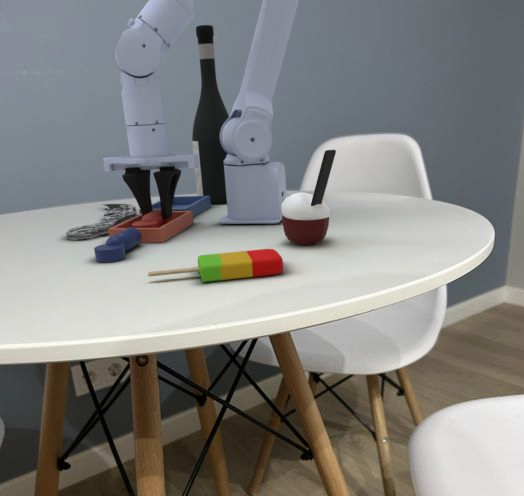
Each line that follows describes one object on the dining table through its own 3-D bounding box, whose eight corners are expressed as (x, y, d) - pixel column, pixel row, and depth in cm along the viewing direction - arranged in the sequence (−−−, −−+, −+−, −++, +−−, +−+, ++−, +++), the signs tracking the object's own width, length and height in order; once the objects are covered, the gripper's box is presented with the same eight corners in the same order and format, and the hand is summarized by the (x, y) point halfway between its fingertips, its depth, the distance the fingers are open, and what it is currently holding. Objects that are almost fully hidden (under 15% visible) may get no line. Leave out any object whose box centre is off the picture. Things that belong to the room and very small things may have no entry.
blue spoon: (125, 243, 83) (122, 225, 82) (149, 243, 82) (147, 225, 81) (90, 262, 74) (87, 242, 73) (117, 262, 73) (114, 242, 72)
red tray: (193, 223, 94) (192, 210, 93) (162, 242, 82) (160, 228, 82) (147, 223, 96) (145, 211, 95) (110, 242, 84) (107, 229, 84)
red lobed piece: (156, 222, 94) (153, 206, 93) (177, 222, 93) (176, 205, 92) (129, 236, 85) (126, 218, 84) (153, 236, 84) (150, 218, 83)
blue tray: (210, 206, 108) (209, 195, 107) (186, 221, 96) (184, 209, 95) (169, 207, 110) (168, 196, 109) (140, 221, 98) (138, 209, 97)
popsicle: (285, 274, 64) (284, 258, 64) (148, 289, 62) (146, 272, 61) (276, 262, 69) (275, 246, 69) (149, 275, 67) (146, 259, 66)
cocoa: (277, 237, 81) (273, 147, 76) (321, 233, 82) (319, 144, 77) (291, 254, 72) (288, 153, 68) (340, 249, 73) (340, 149, 68)
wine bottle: (192, 205, 110) (173, 25, 98) (207, 198, 117) (191, 29, 105) (232, 205, 108) (218, 21, 96) (244, 197, 115) (233, 25, 103)
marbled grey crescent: (100, 201, 113) (151, 195, 112) (102, 209, 113) (152, 203, 113) (52, 235, 87) (118, 227, 86) (55, 245, 87) (120, 237, 87)
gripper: (87, 128, 83) (103, 223, 88) (182, 123, 80) (192, 222, 85) (110, 125, 89) (123, 214, 95) (199, 121, 86) (208, 213, 91)
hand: (157, 218), depth 90 cm, fingers closed on red lobed piece, 3 cm apart
